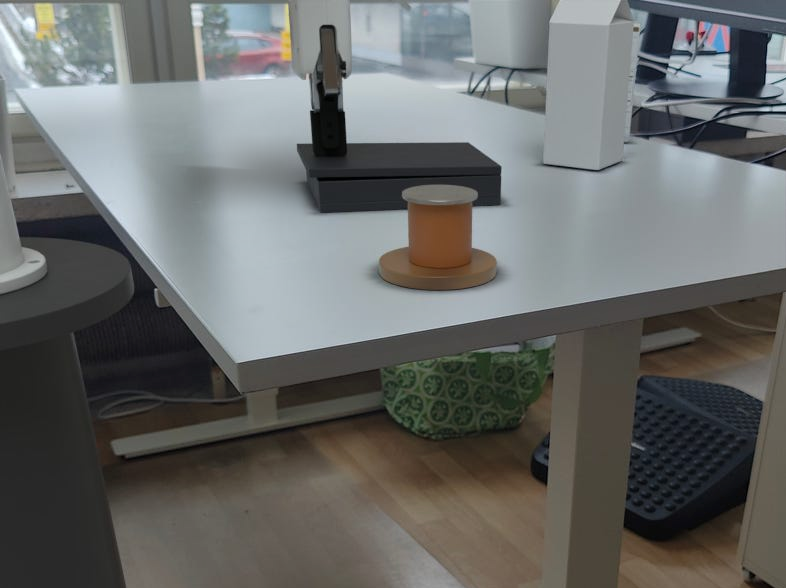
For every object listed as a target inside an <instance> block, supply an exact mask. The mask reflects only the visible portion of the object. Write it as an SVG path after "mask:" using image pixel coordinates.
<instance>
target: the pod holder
mask: <svg viewBox="0 0 786 588" xmlns="http://www.w3.org/2000/svg"><path fill="white" fill-rule="evenodd" d="M305 172H306V173H305V174H306V184H307V185H308V188H309V190H310V192H311V194H312V196H313V199H314V201H315V203H316V206H317V207H318V211H319V212H320V213H341V212H342V213H343V212H344V213H345V212H365V211H366V212H367V211H388V210H408V201H407V200H405V199H403V197H402V192H403V191H404V190H405V189H408V188H411V187H415V186H422V185H456V186H463V187H468V188H471V189H474V190H476V191H477V193H478V197H477V199H476V200H474V201H472V207H479V206H480V207H481V206H483V207H484V206H500V205H501V203H502V197H501V196H502V174H501V175H445V176H380V177H315V178H310V177H309V175H308V173H307V171H306V170H305Z"/></svg>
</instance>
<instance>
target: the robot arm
mask: <svg viewBox="0 0 786 588" xmlns="http://www.w3.org/2000/svg"><path fill="white" fill-rule="evenodd" d="M350 1H351V0H287V9H288V20H289V21H288V22H289V23H288V24H289V36H290V37H289V38H290V55H291V58H290V59H291V68H292V71H293V72H294V73H295V74H296V76H297V77H298V78H300V79H301V80H302V81H306V80H307V74H308V83H309V84H308V85H309V95H310V107H311V110H309V119H310V131H311V133H310V134H311V144H312V147H313V152H314V154H315V155H316V156H318V157H322V156H345V155H346V154H347V143H348V142H347V125H346V124H347V123H346V111H345V110H344V90H343V89H344V88H343V81H344V80H347V79H348V78H349V77H350V76H351V75H352V71H353V70H352V69H353V68H352V67H353V66H352V65H353V57H352V56H353V53H352V52H353V51H352V49H353V48H352V47H353V45H352V23H351V22H352V20H351V17H352V16H351V3H350ZM4 168H5V167H4V163H3V159H2V155H1V153H0V295H2V294H6V293H9V292H13V291H17V290H19V289H22V288H25V287H28V286H30V285H32V284H34V283H36V282H38V281H39V280H40V279H42V278H43V277H44V276H45V275H46V273H47V272H48V270H47V264H46V259H45V257H44V255H42V254H41V253H39V252H38V251H35V250H32V249H29V248H24V247H21V243H20V238H19V237H20V235H19V229H18V226H17V220H16V215H15V211H14V208H13V203H12V198H11V193H10V190H9V186H8V180H7V177H6V172H5V169H4Z"/></svg>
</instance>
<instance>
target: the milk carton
mask: <svg viewBox="0 0 786 588" xmlns="http://www.w3.org/2000/svg"><path fill="white" fill-rule="evenodd" d="M634 21H635V20H634V17H633V14H632V10H631V7H630V4H629V1H628V0H559V1H558V3H557V4H556V7H555V9H554V11H553V13H552V15H551V17H550V19H549V21H548V22H549V25H548V45H547V47H548V49H547V70H546V91H545V113H544V114H545V115H544V133H543V157H542V158H543V160H542V163H543V164H545V165H551V166H560V167H568V168H577V169H584V170H591V171H592V170H594V171H600V170H602V169H604V168H607V167H609V166H612V165H615V164H617V163H620V162H622V161H623V158H624V157H623V156H624V146H625V145H624V144H625V142H624V134H625V123H626V111H627V99H628V88H629V76H630V64H631V52H632V41H633V28H634Z"/></svg>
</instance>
